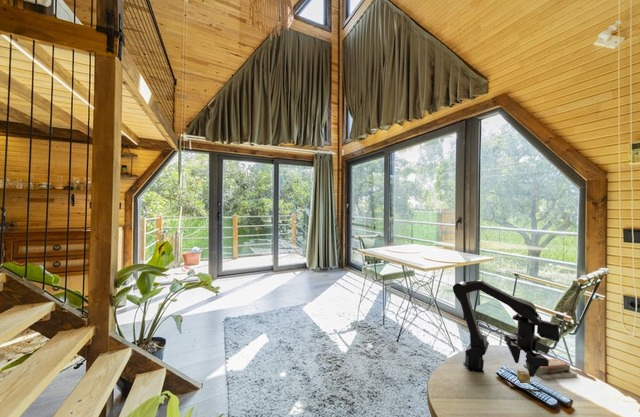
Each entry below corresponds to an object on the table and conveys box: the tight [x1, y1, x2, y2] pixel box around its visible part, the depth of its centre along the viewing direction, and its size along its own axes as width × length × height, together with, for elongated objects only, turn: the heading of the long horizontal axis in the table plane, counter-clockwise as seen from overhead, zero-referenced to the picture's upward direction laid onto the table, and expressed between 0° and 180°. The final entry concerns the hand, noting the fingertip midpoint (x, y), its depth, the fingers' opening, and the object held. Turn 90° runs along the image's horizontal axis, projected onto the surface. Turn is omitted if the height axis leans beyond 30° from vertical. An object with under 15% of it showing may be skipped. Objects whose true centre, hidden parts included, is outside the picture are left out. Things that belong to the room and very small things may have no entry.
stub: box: [505, 369, 531, 388], centre depth 110 cm, size 12×3×6 cm, turn 84°
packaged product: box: [523, 358, 578, 381], centre depth 121 cm, size 18×5×10 cm
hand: (523, 369), depth 110 cm, fingers open, 9 cm apart
